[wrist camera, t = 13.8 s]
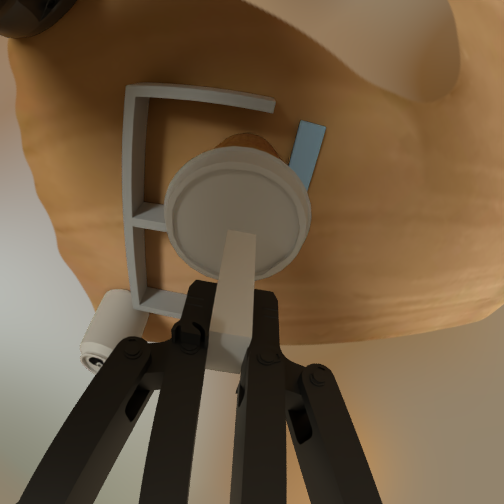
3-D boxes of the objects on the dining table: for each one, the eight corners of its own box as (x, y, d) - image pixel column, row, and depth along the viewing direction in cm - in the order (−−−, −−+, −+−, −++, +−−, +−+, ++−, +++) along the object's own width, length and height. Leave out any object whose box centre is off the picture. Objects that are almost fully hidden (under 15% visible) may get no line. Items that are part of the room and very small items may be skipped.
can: (122, 277, 36) (88, 347, 26) (160, 309, 40) (138, 380, 30) (97, 296, 39) (67, 359, 29) (133, 324, 42) (110, 387, 33)
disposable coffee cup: (213, 215, 30) (191, 296, 21) (184, 132, 25) (134, 179, 15) (302, 197, 29) (322, 275, 19) (283, 106, 23) (299, 135, 13)
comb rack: (141, 82, 22) (126, 85, 19) (273, 97, 23) (275, 101, 20) (141, 290, 37) (133, 308, 35) (228, 307, 39) (226, 326, 36)
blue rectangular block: (300, 119, 24) (301, 120, 23) (324, 126, 24) (326, 127, 24) (273, 219, 30) (274, 222, 30) (295, 224, 30) (295, 226, 30)
